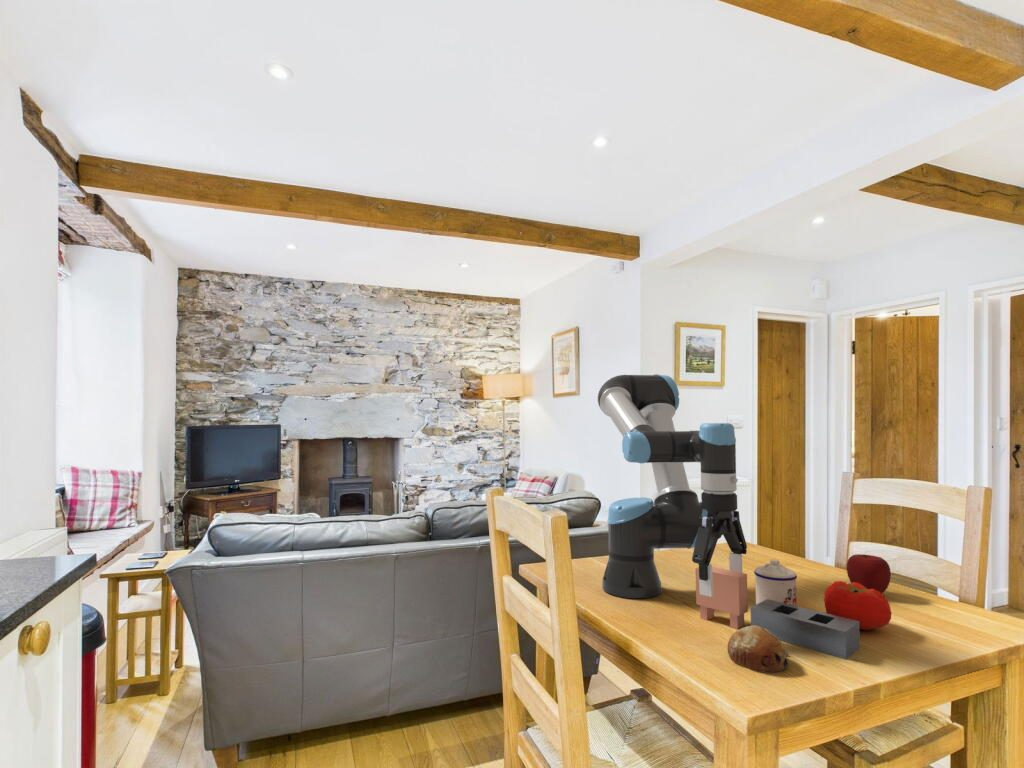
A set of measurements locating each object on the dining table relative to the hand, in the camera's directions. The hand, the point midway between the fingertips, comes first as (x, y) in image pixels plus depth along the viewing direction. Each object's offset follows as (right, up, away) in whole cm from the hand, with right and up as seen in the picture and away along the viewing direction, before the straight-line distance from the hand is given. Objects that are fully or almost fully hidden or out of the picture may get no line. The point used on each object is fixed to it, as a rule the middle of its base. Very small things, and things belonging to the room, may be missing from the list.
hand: (721, 588), depth 123 cm
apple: (+44, -8, +18) cm, 49 cm away
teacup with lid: (+16, -8, +8) cm, 20 cm away
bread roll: (-1, -7, -20) cm, 21 cm away
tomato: (+28, -7, -3) cm, 29 cm away
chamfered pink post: (0, -7, 0) cm, 7 cm away
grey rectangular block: (+13, -7, -10) cm, 18 cm away
